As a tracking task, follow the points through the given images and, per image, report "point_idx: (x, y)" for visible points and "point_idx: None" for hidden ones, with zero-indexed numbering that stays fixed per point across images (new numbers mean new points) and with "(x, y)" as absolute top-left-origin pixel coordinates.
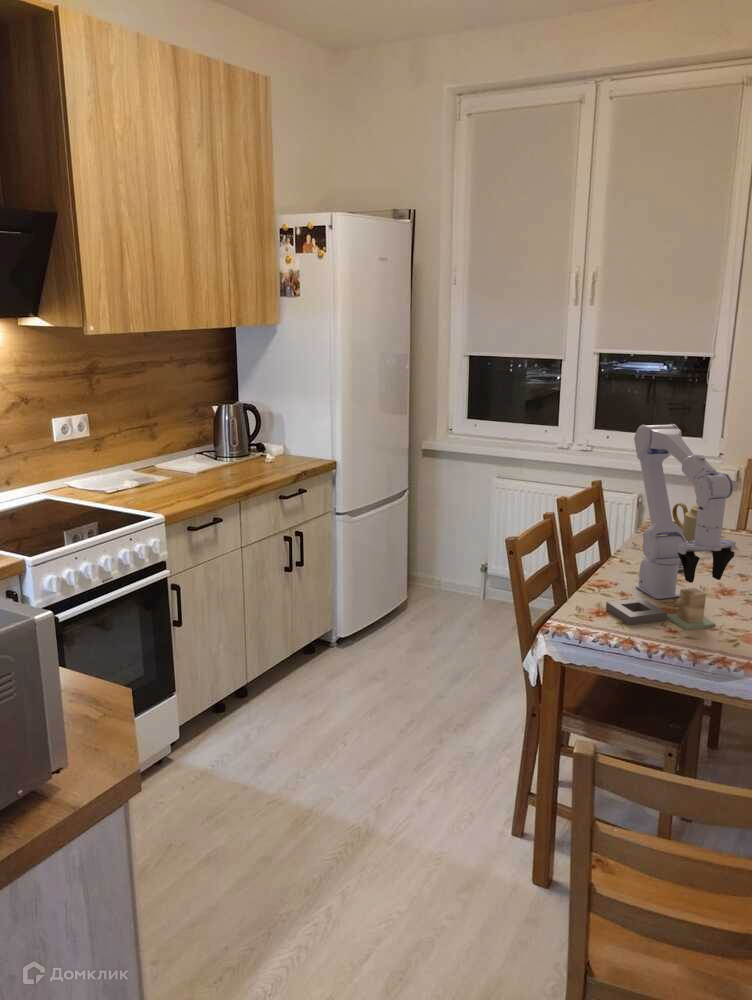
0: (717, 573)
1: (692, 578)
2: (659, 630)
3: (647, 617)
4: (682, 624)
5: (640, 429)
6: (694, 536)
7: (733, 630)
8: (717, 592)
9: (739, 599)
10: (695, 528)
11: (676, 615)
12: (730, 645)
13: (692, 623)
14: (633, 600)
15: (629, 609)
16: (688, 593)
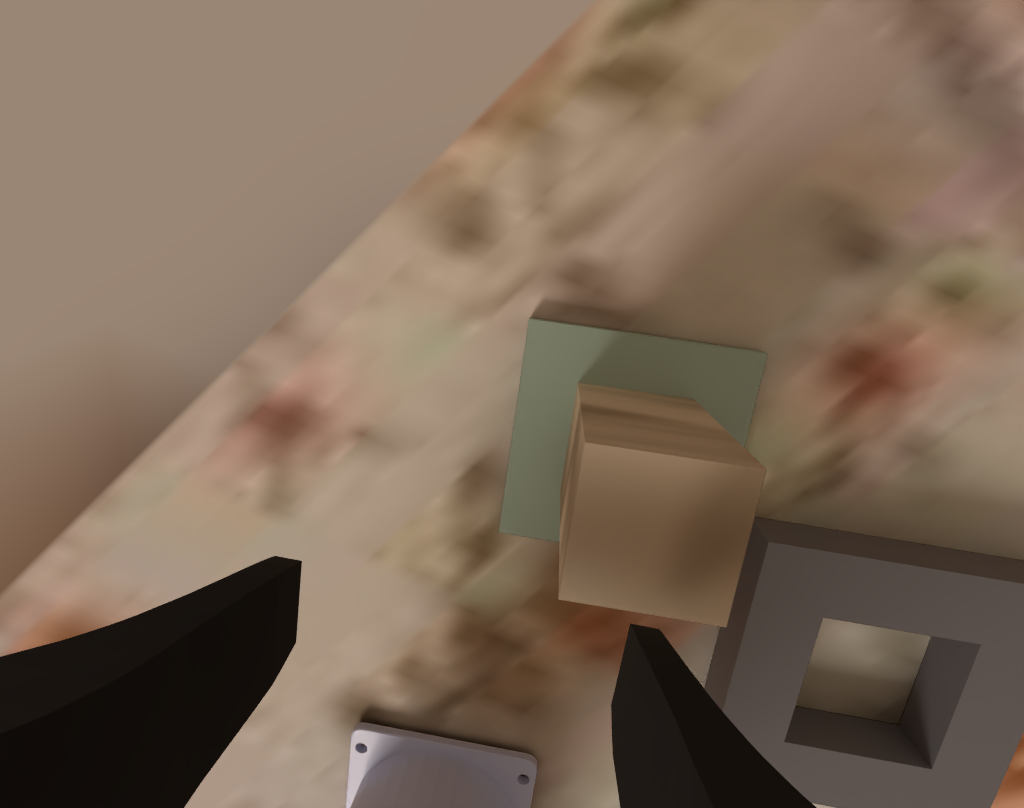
0: (262, 623)
1: (664, 653)
2: (931, 419)
3: (922, 558)
4: (749, 402)
5: None
6: None
7: (473, 213)
8: None
9: (72, 556)
10: None
11: None
12: (708, 14)
13: (671, 386)
14: (794, 775)
15: (835, 719)
16: (751, 518)
